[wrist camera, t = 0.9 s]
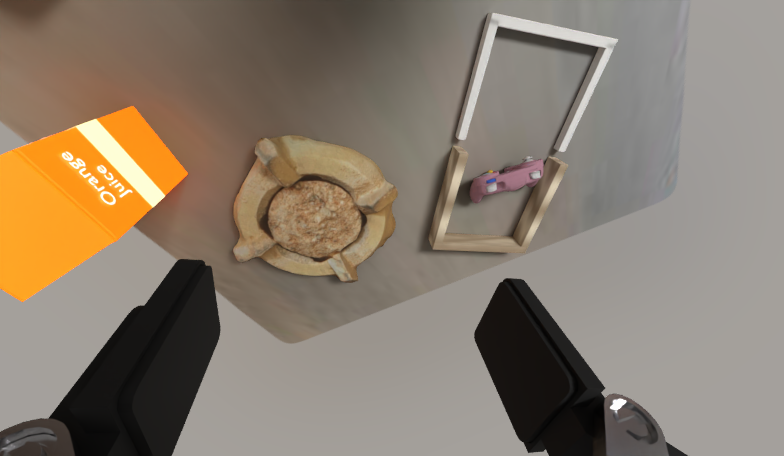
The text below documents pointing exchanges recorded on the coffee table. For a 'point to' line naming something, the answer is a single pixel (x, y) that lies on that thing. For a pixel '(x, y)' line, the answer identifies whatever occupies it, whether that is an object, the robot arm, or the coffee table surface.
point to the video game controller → (507, 179)
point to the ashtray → (312, 208)
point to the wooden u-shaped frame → (490, 243)
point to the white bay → (546, 30)
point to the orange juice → (77, 196)
